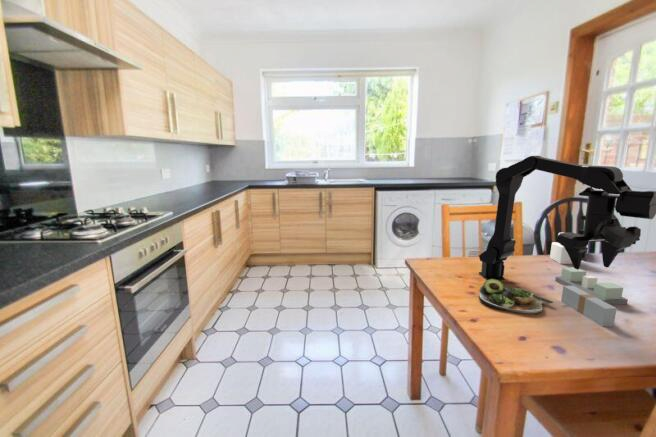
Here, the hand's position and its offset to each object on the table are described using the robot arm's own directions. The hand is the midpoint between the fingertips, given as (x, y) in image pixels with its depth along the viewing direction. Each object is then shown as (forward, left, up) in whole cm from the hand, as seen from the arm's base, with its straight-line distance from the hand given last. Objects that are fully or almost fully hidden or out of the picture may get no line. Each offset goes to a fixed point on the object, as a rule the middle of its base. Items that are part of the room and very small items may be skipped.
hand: (591, 268), depth 87 cm
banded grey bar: (-2, -2, -13) cm, 13 cm away
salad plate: (-19, +7, -13) cm, 24 cm away
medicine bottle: (+24, +39, -13) cm, 48 cm away
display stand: (+10, +11, -13) cm, 20 cm away
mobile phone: (+36, +45, -13) cm, 59 cm away
